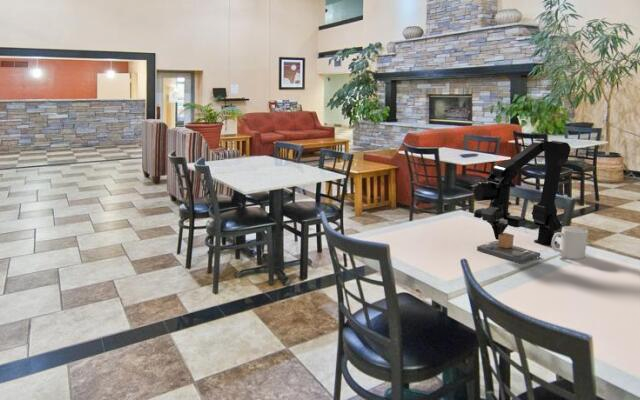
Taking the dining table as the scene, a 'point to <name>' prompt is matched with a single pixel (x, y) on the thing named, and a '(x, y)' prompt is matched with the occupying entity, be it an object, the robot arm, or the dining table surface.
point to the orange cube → (505, 240)
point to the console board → (508, 252)
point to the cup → (571, 242)
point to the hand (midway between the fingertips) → (497, 239)
